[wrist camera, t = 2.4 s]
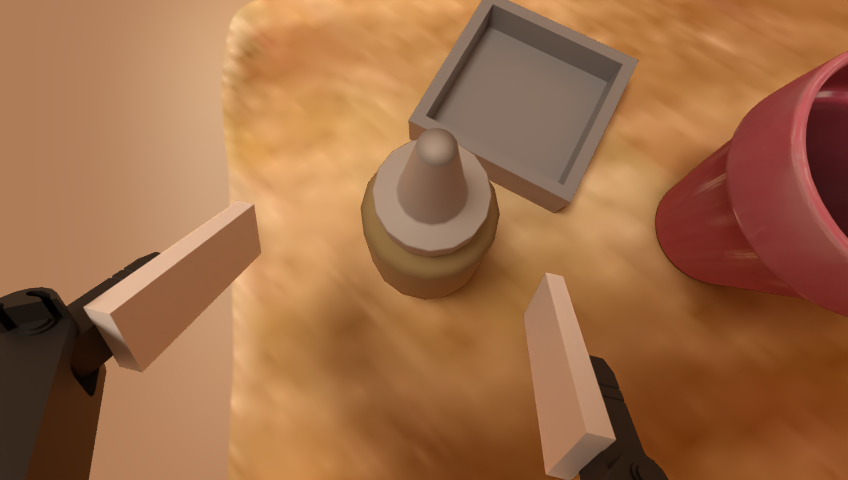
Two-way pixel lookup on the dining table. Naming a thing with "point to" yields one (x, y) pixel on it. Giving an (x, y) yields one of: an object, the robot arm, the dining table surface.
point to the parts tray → (526, 99)
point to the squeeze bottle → (429, 216)
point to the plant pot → (772, 198)
